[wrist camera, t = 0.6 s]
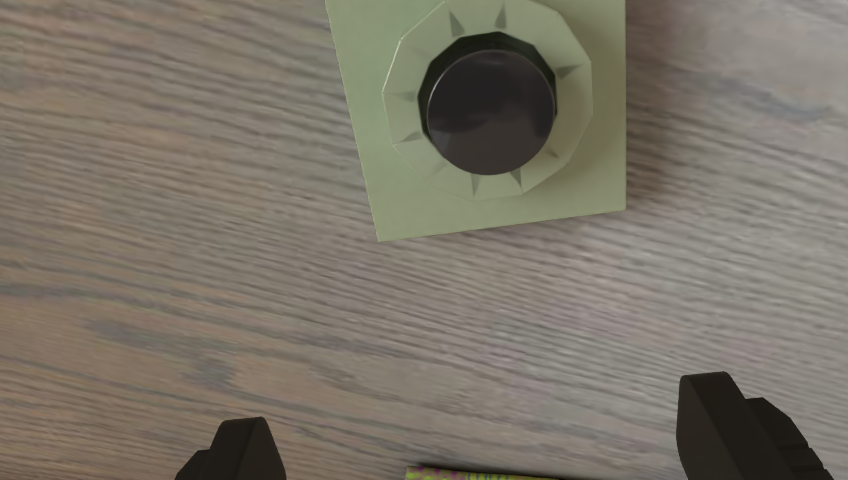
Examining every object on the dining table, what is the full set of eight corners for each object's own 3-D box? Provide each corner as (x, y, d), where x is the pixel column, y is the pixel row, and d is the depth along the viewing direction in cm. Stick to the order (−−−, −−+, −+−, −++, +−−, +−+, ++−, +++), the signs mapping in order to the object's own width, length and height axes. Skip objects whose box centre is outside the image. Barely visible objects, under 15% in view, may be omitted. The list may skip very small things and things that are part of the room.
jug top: (324, -54, 21) (300, -51, 18) (608, -106, 20) (643, -114, 17) (382, 219, 26) (373, 265, 23) (613, 189, 25) (640, 231, 22)
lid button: (418, 50, 19) (417, 61, 18) (542, 30, 19) (551, 39, 17) (437, 165, 21) (436, 184, 20) (550, 149, 21) (558, 166, 19)
